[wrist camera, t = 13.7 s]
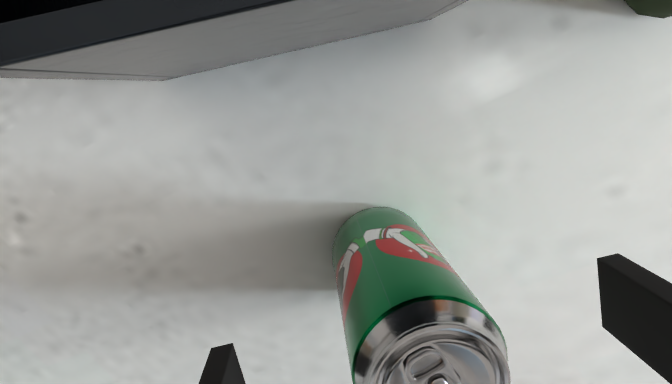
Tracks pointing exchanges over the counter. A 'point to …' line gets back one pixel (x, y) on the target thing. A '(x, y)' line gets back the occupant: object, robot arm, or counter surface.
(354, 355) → the soda can
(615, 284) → the robot arm
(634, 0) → the character mug
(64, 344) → the counter surface
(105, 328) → the counter surface
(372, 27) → the bin
